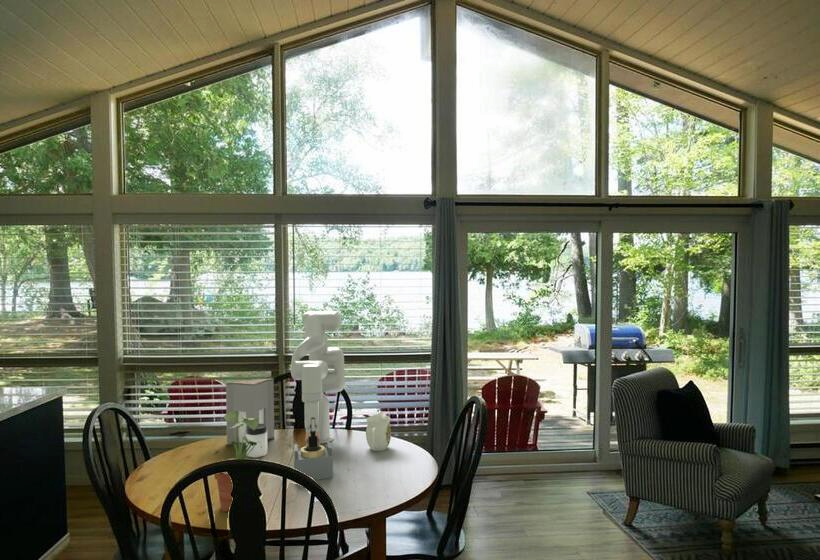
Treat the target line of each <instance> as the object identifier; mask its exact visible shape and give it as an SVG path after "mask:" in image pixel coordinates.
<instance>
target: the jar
mask: <svg viewBox="0 0 820 560" xmlns="http://www.w3.org/2000/svg"><path fill="white" fill-rule="evenodd" d="M246 438H247V439H248V440H251V441H253V442H256V443H257V444H256V445H254V446H255V447H254V446H252V445H251V447H250V448H249V450H248V451H247V454H246V456H247V455H248V456H247V457H248V458H255V459H256V458H259V457H264V456H266V455H267V454H268V440H267V425H265V424H258V426H257V428H256V429H255V430H253V429H252V428H250V427H249V426H247V434H246ZM258 441H260V443H261V444H260V443H258ZM246 442H247V441H246ZM247 444H248V443H246V446H247ZM246 446H245V447H246ZM249 446H250V444H249ZM249 446H248V447H249ZM248 447H247V449H248ZM253 447H254V448H253ZM252 448H253V449H252ZM247 449H246V450H247ZM251 449H252V451H251V452H250V450H251ZM249 452H250V453H249ZM248 453H249V454H248Z"/></svg>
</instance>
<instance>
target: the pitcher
mask: <svg viewBox="0 0 820 560" xmlns="http://www.w3.org/2000/svg"><path fill="white" fill-rule="evenodd" d="M366 422H367V423H366V424H367V426H366V429H365V438H366V441H367V445H368V447H369V448H370V450H371V451H374V452H383V451H386V450H387V448H388V447H389V446H390V442H391V439H392V427H391V425H390V422H391V417H390V416H389V415H387V414H386V413H385V412H378V413H376V414H373V415H370V416H368V417H366Z"/></svg>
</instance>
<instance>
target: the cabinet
mask: <svg viewBox="0 0 820 560" xmlns="http://www.w3.org/2000/svg"><path fill="white" fill-rule="evenodd" d="M274 384H275V381H274V378H264V379H253V380H251V379H250V380H240V381H230V382H228V381H227V382H225V394H226V396H225V405H226V407H225V409H226V414H228V413H230V412H239V415H238V422H240V421H243V420H244V419H242V417H241V415H242V416H243V417H245V418H259V419H258V420H259V422H258V424H265V425H267V441H269V440H274V439H275V394H274V393H275V389H274V388H275V387H274V386H275V385H274ZM226 414H225V415H226ZM230 423H231V424H230ZM236 424H237V423H236V422H231V421H226V445H227V446H231V445H232V446H233V444H232V443H231V442H234V438H233V434H234V437H235V441H236V443H237V446H239V443H238V436H239V441H240V446H241V443H242V440H243V437H245V436H246V434H247V429H246V427H247V425H246V423H244V425H243V426H241V425H240V428H239V427H234V428H232V429H231V427H233V426H235V425H236ZM228 426H229V427H230V428H229V427H228ZM232 430H233V433H232ZM237 430H238V434H237ZM245 430H246V432H245ZM244 434H245V436H244ZM245 442H246V440H243V445H242V447H243V446H244V447H246V443H245Z"/></svg>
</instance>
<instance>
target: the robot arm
mask: <svg viewBox="0 0 820 560" xmlns="http://www.w3.org/2000/svg"><path fill="white" fill-rule="evenodd" d="M341 320H342V318H341V313H340V312H339V311H337V310H314V311H313V310H311V311H306V312H304V313H303V314H302V315H301V322H302V326H303V329H304V340H303V341H302V342H300V343H299V344H298V345H297V347H295V349H294V350H293V353H292V356H291V362H290V363H291V364H290V365H291V366H290V374H291V375H290V376H291V377H292V379H293V380H296V381H301V402H302V403H304V428H305V430H306V429H307V428H309V447H317V428H318V425H319V445H322V444H327V441H330V442H332V441H333V440H334V436H333V435H332V434H330V433H331V429H330V428H331V427H330V424H331V423H330V401H329V398H328V397H327V396H326V394H324V393H338V392H342V391H343V390H344V388H345V385H346V384H345V381H346V380H345V379H346V378H345V355H344V351H343V349H342V348H340V347H328V336H327V334H326V333H327V332H338V331H339V330H340V327H341V325H342V321H341ZM307 355H308V360H301V359H302V358H304V357H305V356H307ZM329 369H334V370H329ZM310 426H311V427H312V428H310ZM311 430H312V431H311Z"/></svg>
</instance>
